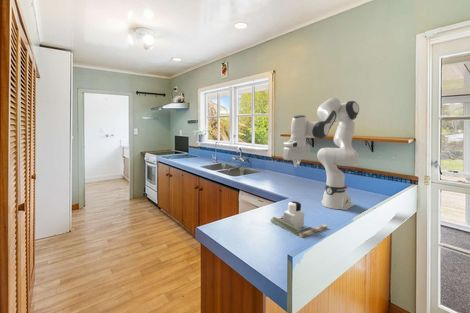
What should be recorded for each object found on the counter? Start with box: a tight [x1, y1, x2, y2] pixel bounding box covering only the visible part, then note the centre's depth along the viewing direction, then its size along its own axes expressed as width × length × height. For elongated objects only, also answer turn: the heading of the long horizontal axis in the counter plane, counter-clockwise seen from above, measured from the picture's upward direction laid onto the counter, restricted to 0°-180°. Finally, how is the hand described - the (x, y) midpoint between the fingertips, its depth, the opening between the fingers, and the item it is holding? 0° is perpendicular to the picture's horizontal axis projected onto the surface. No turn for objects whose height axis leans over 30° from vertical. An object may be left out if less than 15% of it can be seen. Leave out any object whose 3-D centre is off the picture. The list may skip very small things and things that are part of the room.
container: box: [283, 201, 305, 229], centre depth 130 cm, size 8×8×13 cm
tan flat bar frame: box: [270, 215, 328, 238], centre depth 132 cm, size 20×22×3 cm
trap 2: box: [301, 226, 314, 233], centre depth 125 cm, size 10×3×1 cm, turn 124°
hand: (296, 166), depth 145 cm, fingers closed
